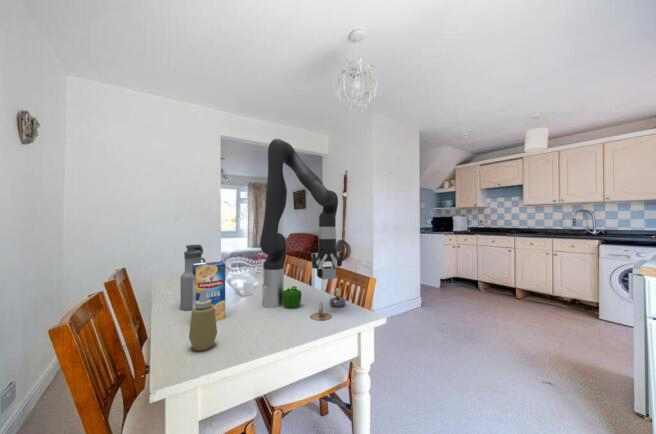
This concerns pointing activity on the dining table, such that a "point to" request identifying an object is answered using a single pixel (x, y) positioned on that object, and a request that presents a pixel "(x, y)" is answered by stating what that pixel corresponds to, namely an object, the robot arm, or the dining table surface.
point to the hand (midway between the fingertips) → (327, 276)
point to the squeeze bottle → (203, 324)
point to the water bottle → (189, 274)
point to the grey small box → (328, 272)
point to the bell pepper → (291, 298)
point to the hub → (337, 300)
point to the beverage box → (210, 285)
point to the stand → (321, 314)
